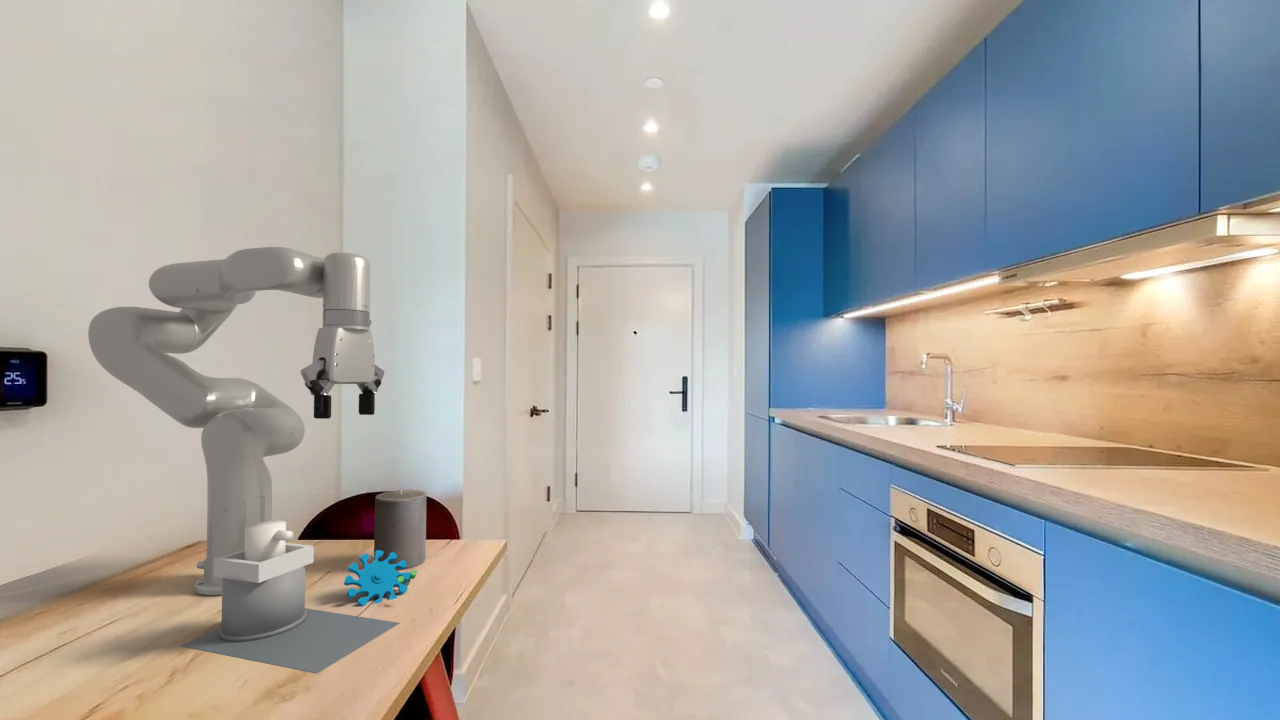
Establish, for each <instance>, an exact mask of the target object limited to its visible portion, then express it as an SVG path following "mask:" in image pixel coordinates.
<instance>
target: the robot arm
mask: <svg viewBox="0 0 1280 720" xmlns="http://www.w3.org/2000/svg"><path fill="white" fill-rule="evenodd" d="M370 264H371V263H370V261H369V260H368V258H367V257H365V256H363V255H360V254H356V253H351V252H331V253H329V254H327V255H326V256H325V257H324V258H322V257H319V256H316V255H312V254H309V253H306V252H302V251H300V250H296V249H292V248H289V247H283V246H265V247H264V246H263V247H262V246H261V247H254V248H253V247H252V248H244V249H243V248H242V249H239V250H236V251H234V252H232V253H231V254H230V255H227V257H225V258H220V259H210V260H199V261H198V260H196V261H189V262H188V261H187V262H178V263H170V264H167V265H163V266H160V267H158V268H157V269H156V270H154V271H153V272H152V273H151V275H150V277H149V279H148V288H149V290H150V293H151V294H152V295H153V297H154V298H156V300H157V301H159V302H161V303H163V304H165V305H167V306H170V307H172V308H177V309H180V310H179V311H173V310H165V309H156V308H150V307H148V308H147V307H139V306H118V307H116V306H115V307H111V308H107V309H104V310H103V311H100V312H98V313H97V314H96V315H94V317H92V319H91V321H90V323H89V326H88V333H87V334H88V337H87V338H88V342H89V347H90V350H91V352H92V355H93V356H94V358H95V360H96V362H98V364H99V365H100V366H101V368H102V369H103V370H105V371H106V372H107V373H108V374H110V375H111V376H112V377H114V378H115V379H117V380H118V381H120V382H121V383H123V384H124V385H126V386H128V387H130V388H131V389H132V390H134V391H136V392H137V393H138V394H140V395H141V396H142V397H144V398H145V399H146V400H148V401H149V402H150V403H152V405H154V406H155V407H156V408H158V409H159V410H160V411H162V412H163V413H165V414H166V415H168V416H169V417H171V418H172V419H173V420H174V421H176V422H177V423H179V424H181V425H182V426H184V427H186V428H191V429H192V428H193V429H202V432H201V435H200V436H201V438H200V440H201V441H200V442H201V450H202V453H203V456H204V462H205V467H206V478H207V482H206V483H207V485H206V486H207V493H206V495H207V497H206V498H207V500H206V501H207V508H206V509H207V511H206V512H207V515H206V517H207V519H206V555H205V556H206V557H205V558H204V559H203V560H199V561H198V562H197V564H196V568H197V569H199V570H203V577H201V578H200V579H198V580H197V581H196V582H195V583H194V592H195V593H196V594H199V595H204V596H222V578H219V577H214V559H216V558H219V557H222V556H225V555H229V554H232V553H235V552H238V551H242V550H245V527H246V526H248V525H250V524H254V523H258V522H264V521H273V520H272V519H273V518H272V517H273V514H272V513H273V511H272V510H273V509H272V508H273V482H272V475H271V472H270V470H269V467H268V466H267V465H266V463H265V460H264V458H266V457H273V456H277V455H281V454H285V453H288V452H291V451H293V450H294V449H296V448H297V447H298V446H299V445H301V443H302V442H303V439H304V436H305V432H306V431H305V425H304V422H303V419H302V418H301V416H300V415H299V413H298V412H296V411H295V410H294V409H293V408H292V407H291V406H289V405H288V404H286V403H285V402H284V401H282V400H281V399H279V398H278V397H277V396H275V395H274V394H272V393H271V392H270V391H268V390H266V389H265V388H264V387H262V386H261V385H259V384H257V383H256V382H254V381H251V380H248V379H246V378H239V377H212V376H207V375H204V374H202V373H200V372H199V371H196V370H195V369H193V368H192V367H190V366H189V365H188V363H185V362H184V361H182V360H181V359H179V358H177V357H175V356H171V355H170V354H176V355H177V354H178V355H179V354H180V355H182V354H188V353H191V352H194V351H196V350H198V349H199V348H201V347H202V346H203V345H204V344H206V343H207V341H208V340H209V339H210V338H211V336H213V334H214V333H215V332H216V331H217V330H218V329H219V328H220V327H221V326H222V325H223V323H224V322H225V321H227V319H228V318H229V317H230V316H231V315H232V313H233V312H234V310H235V309H236V308H237V307H238V305H244V304H246V303H249V302H250V301H251V300H252V299H254V297H255V295H256V293H257V292H258V291H259V292H260V291H281V292H287V293H292V294H297V295H300V296H304V297H305V296H306V297H309V298H314V299H315V298H316V299H322V327H319V328H318V330H317V333H316V337H315V341H314V347H313V353H312V354H313V355H312V363H310V364H309V365H307V366H305V367H303V368H302V369H301V370H300V374H301V376H302V379H303V382H304V385H305V387H306V388H307V389H308V390H309V393H310V395H311V396H313V418H314V419H315V420H316V419H318V420H321V419H324V420H326V419H327V420H328V419H331V418H332V395H331V394H329V392H331V390H332V388H333V387H334V386H335V385H356V386H357V387H358V389H359V390H360V392H361V393H359V394H358V414H359V415H360V416H361V415H363V416H373V415H375V407H376V405H375V404H376V403H375V402H376V401H375V399H376V398H375V396H376V394H377V393H378V389H379V388H380V387H381V385H382V380H383V379H384V375H385V371H384V369H382V368H380V367H379V366H378V365H377V364H376V363H375V361H376V360H375V348H374V339H373V335H372V331H370V327H371V325H372V320H371V319H370V318H371V314H370V312H371V310H370V308H371V307H370V306H371V265H370Z"/></svg>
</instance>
